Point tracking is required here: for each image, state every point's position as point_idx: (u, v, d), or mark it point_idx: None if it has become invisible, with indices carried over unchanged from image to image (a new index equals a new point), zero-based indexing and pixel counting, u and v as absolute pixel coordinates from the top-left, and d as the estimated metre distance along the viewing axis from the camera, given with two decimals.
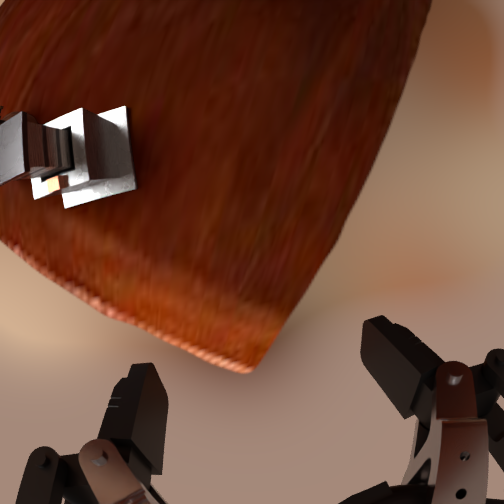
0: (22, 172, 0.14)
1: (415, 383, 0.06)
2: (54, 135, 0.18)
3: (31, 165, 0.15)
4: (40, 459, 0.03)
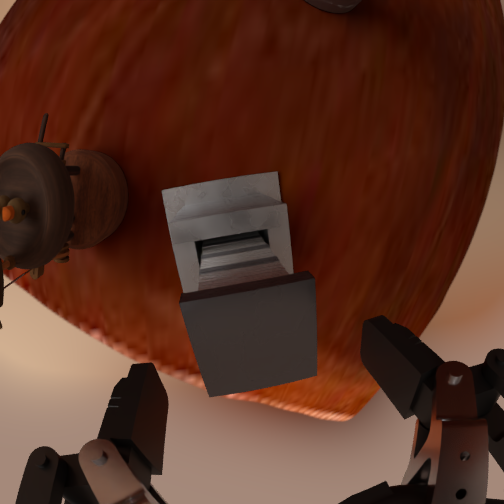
0: (310, 375, 0.11)
1: (415, 383, 0.06)
2: None
3: None
4: (40, 459, 0.03)
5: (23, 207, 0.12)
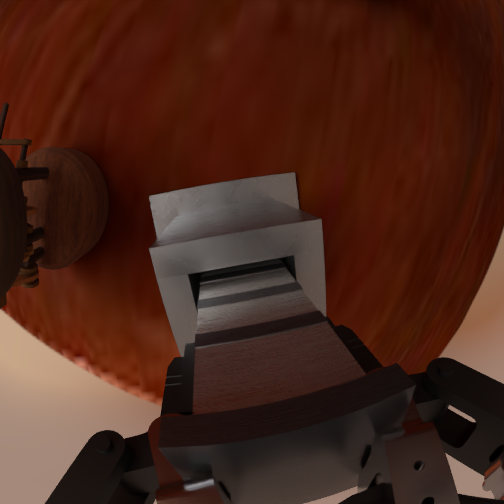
0: None
1: None
2: None
3: None
4: (103, 444, 0.04)
5: None
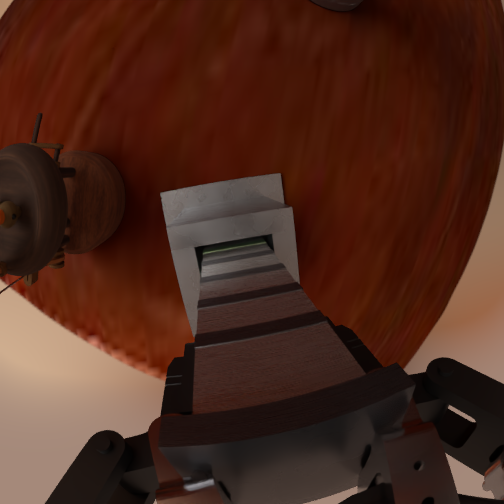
0: None
1: None
2: None
3: None
4: (102, 444, 0.04)
5: (14, 211, 0.11)
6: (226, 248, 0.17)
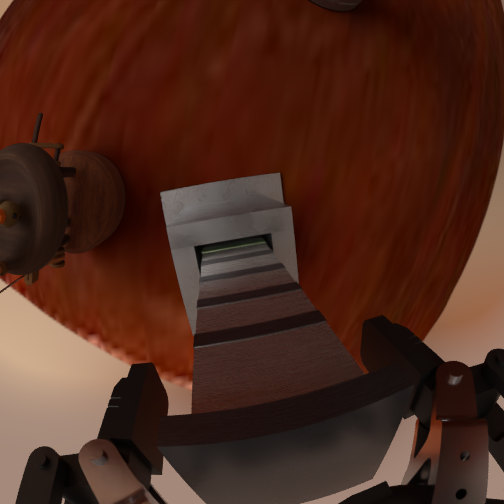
0: (363, 480, 0.06)
1: (415, 383, 0.06)
2: None
3: None
4: (40, 459, 0.03)
5: (14, 210, 0.11)
6: (225, 248, 0.17)
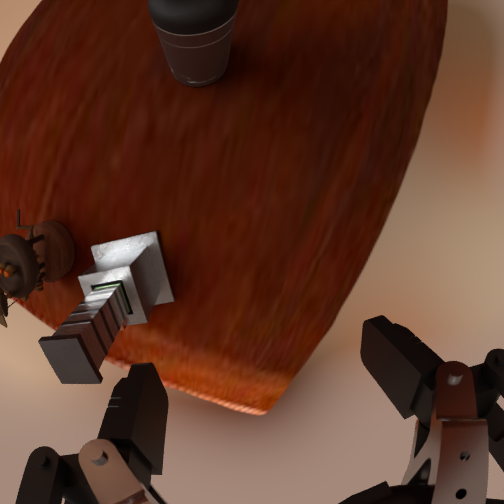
0: (98, 382, 0.19)
1: (415, 383, 0.06)
2: (100, 318, 0.24)
3: (98, 367, 0.21)
4: (40, 459, 0.03)
5: (13, 270, 0.25)
6: (103, 286, 0.31)
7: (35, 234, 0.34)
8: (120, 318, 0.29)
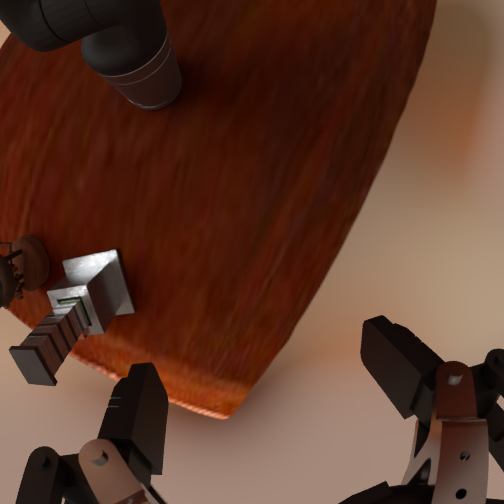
0: (53, 385, 0.21)
1: (415, 383, 0.06)
2: (58, 332, 0.25)
3: (55, 372, 0.22)
4: (40, 459, 0.03)
5: None
6: (67, 301, 0.32)
7: (15, 248, 0.35)
8: (78, 330, 0.30)
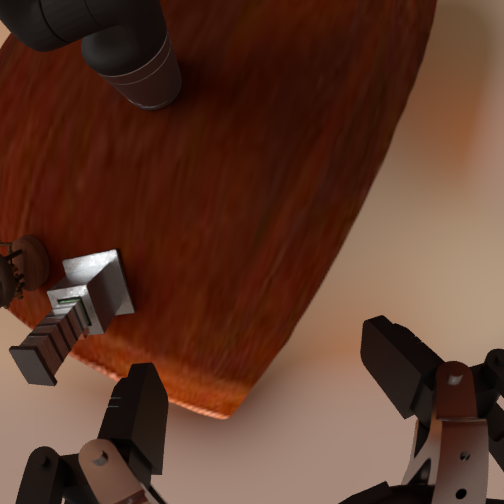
0: (53, 385, 0.21)
1: (415, 383, 0.06)
2: (58, 332, 0.25)
3: (54, 372, 0.22)
4: (40, 459, 0.03)
5: None
6: (67, 301, 0.32)
7: (15, 248, 0.35)
8: (78, 330, 0.30)
